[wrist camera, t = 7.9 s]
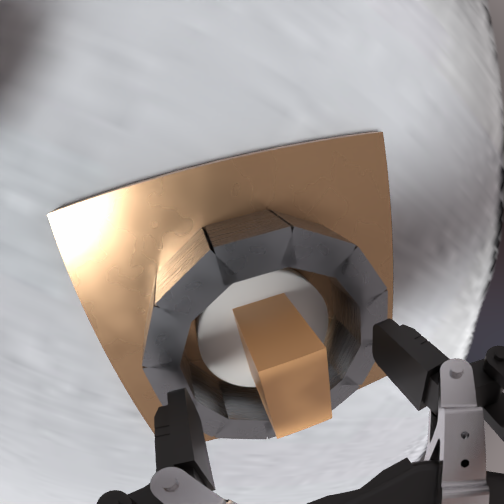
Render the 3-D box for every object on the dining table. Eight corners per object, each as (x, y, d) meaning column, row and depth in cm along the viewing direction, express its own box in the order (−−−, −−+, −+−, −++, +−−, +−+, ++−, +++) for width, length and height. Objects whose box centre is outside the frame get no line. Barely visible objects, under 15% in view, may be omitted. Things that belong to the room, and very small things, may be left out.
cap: (178, 286, 14) (187, 362, 9) (310, 247, 15) (375, 298, 10) (215, 386, 17) (236, 466, 12) (323, 350, 18) (372, 415, 13)
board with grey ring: (54, 209, 13) (19, 232, 9) (371, 131, 15) (422, 133, 12) (164, 439, 19) (169, 485, 15) (381, 366, 21) (411, 400, 18)
